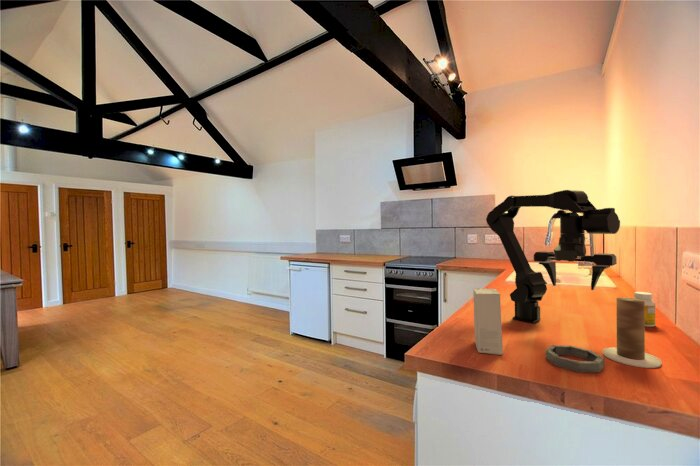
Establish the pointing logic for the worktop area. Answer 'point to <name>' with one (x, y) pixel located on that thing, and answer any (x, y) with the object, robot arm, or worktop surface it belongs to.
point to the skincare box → (487, 321)
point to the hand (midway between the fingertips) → (572, 287)
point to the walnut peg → (631, 328)
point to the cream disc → (648, 362)
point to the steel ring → (589, 366)
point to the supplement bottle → (647, 307)
